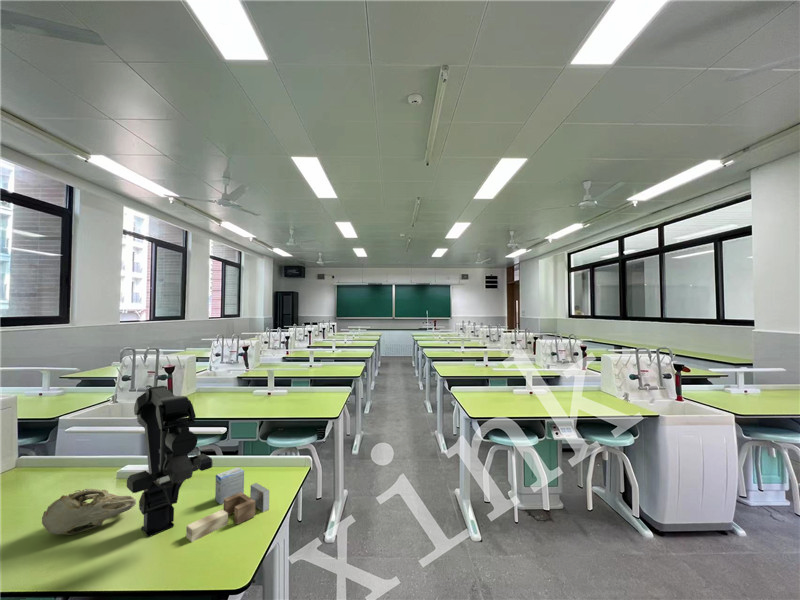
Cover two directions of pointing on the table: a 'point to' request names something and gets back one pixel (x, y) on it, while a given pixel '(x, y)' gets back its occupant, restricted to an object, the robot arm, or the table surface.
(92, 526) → the skull
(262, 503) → the wall
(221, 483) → the medicine box
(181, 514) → the table surface
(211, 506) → the table surface
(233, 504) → the cradle
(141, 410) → the robot arm
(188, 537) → the block
